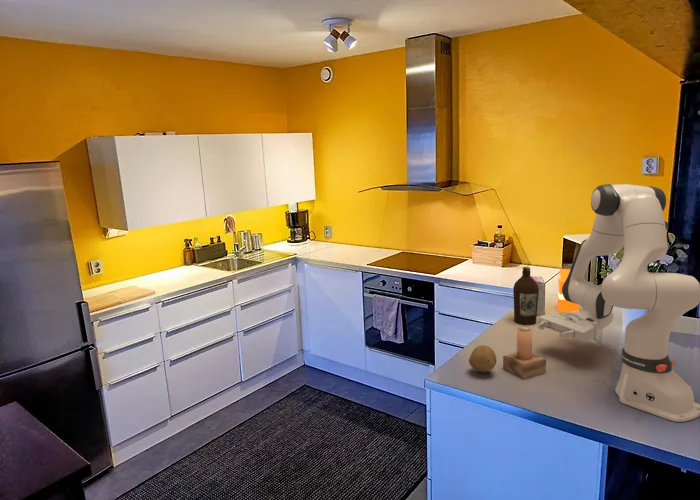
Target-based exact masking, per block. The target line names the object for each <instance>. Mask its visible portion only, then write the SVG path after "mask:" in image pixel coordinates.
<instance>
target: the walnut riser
mask: <svg viewBox="0 0 700 500" xmlns="http://www.w3.org/2000/svg"><path fill="white" fill-rule="evenodd" d="M502 369H504V370H505V371H507V372H510V373H511V374H513V375H515V376H517V377H519V378H521V379H523V380H527V379H529V378H532V377H536V376H539V375H541V374H545V373H546V372H547V359H545V358H544V357H542V356H539V355H537V354H535V353H533V352H532V358H531V359H529V360H523V359H519V358H517V351H515V352H512V353H511V352H510V353H508V354H505V355H503V358H502Z"/></svg>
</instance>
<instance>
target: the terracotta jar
mask: <svg viewBox="0 0 700 500" xmlns="http://www.w3.org/2000/svg"><path fill="white" fill-rule="evenodd" d="M533 332H534V331H533V329H532V328H531V326H530V325H520V326H519V327H517V328H516V352H517V358H519V359H523V360H529V359H531V358H532V353H533Z"/></svg>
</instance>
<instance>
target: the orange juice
mask: <svg viewBox="0 0 700 500" xmlns="http://www.w3.org/2000/svg"><path fill="white" fill-rule="evenodd" d="M570 269H571V268H560V269H559V274H558V278H557V279H558V281H557V282H558V284H557V286H558V287H557V303H556V304H557V305H556V308H557V309H558V312H563V313H571V312H575V311H578V310H580V305H578V304H575V303H572V302H569V301H566V300H565V298H564V296H563V294H562V286H563V284H564V282H565V280H566V279H567V277H568V275H569V272H570Z"/></svg>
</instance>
